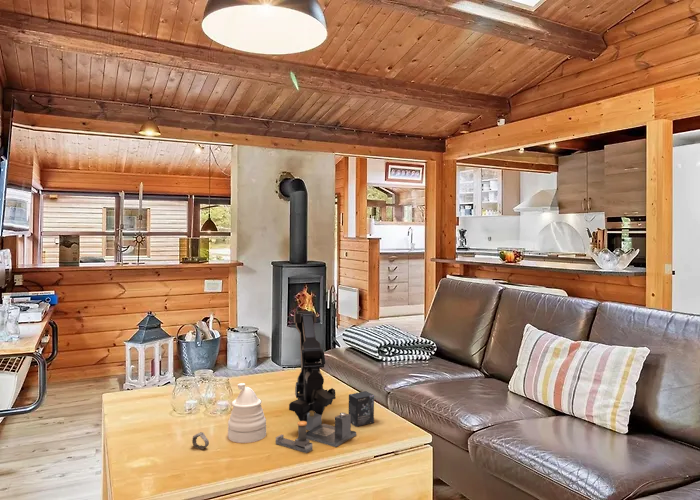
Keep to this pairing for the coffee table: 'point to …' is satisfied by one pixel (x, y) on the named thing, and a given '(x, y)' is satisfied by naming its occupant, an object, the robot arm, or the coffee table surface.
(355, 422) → the box
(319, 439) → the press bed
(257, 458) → the coffee table surface
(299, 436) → the lever
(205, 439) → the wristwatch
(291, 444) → the lever rail
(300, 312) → the robot arm
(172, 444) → the coffee table surface
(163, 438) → the coffee table surface
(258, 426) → the honey pot
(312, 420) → the block
